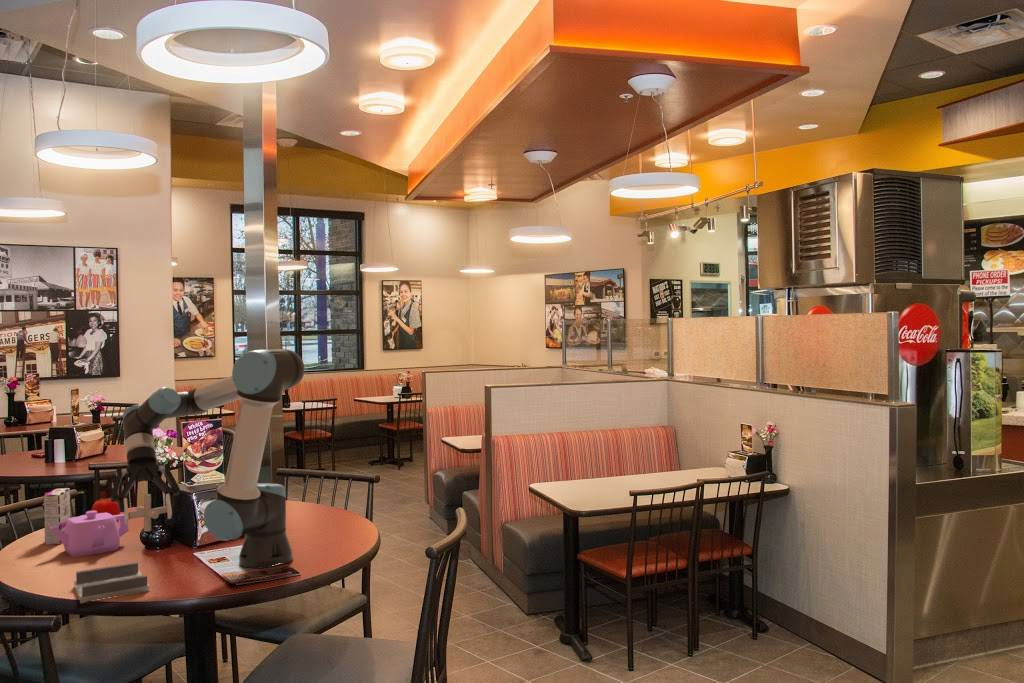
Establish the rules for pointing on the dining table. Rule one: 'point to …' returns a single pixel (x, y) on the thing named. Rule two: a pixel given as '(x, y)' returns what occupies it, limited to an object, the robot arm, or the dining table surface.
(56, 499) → the candy bar box
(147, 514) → the pipe connector
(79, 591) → the cradle plate
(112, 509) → the tomato
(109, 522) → the teakettle
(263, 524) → the robot arm
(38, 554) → the dining table surface
